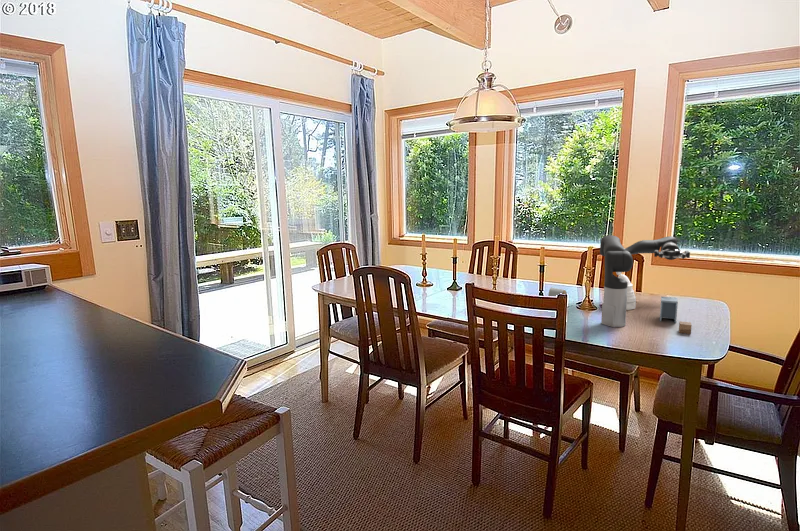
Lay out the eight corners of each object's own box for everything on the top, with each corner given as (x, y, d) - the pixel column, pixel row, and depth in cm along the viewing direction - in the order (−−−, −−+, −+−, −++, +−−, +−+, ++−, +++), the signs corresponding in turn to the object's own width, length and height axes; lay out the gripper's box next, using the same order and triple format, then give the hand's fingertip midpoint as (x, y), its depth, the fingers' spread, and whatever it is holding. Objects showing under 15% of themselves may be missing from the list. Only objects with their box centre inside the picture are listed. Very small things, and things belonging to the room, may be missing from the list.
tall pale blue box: (676, 323, 190) (677, 301, 188) (659, 321, 193) (661, 300, 191) (675, 318, 195) (677, 297, 194) (659, 317, 199) (661, 296, 197)
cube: (690, 334, 176) (691, 325, 175) (679, 333, 178) (679, 323, 177) (690, 331, 179) (690, 322, 178) (678, 330, 181) (679, 321, 180)
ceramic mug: (563, 304, 226) (563, 290, 225) (547, 302, 231) (548, 288, 230) (568, 300, 235) (569, 286, 234) (553, 298, 240) (553, 285, 238)
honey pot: (603, 306, 219) (604, 272, 216) (613, 301, 228) (615, 268, 224) (629, 311, 210) (631, 275, 207) (639, 305, 218) (641, 271, 215)
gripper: (654, 243, 214) (655, 247, 200) (688, 243, 207) (691, 248, 193) (653, 257, 216) (654, 263, 202) (687, 259, 209) (690, 264, 195)
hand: (672, 256), depth 198 cm, fingers open, 8 cm apart
